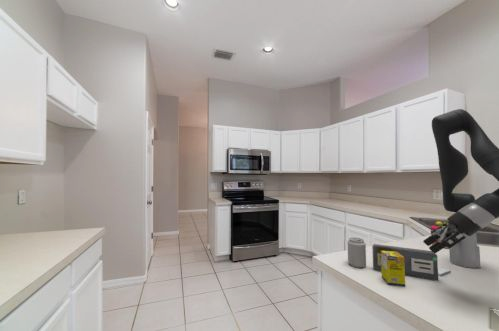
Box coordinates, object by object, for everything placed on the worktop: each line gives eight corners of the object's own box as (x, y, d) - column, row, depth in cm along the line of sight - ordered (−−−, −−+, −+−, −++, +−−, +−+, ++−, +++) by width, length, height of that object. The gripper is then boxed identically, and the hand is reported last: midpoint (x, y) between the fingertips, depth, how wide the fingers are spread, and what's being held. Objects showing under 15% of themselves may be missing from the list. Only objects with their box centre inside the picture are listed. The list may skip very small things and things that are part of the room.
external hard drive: (440, 277, 84) (407, 265, 96) (451, 274, 88) (417, 262, 99) (440, 273, 84) (407, 262, 96) (450, 270, 88) (417, 259, 99)
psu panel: (435, 277, 83) (434, 251, 84) (439, 281, 80) (437, 254, 81) (372, 267, 93) (372, 243, 93) (374, 270, 89) (373, 245, 90)
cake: (427, 244, 124) (426, 219, 124) (436, 242, 128) (435, 218, 129) (450, 250, 114) (448, 223, 115) (458, 247, 118) (457, 221, 119)
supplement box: (405, 286, 76) (404, 257, 77) (388, 285, 78) (387, 255, 78) (397, 279, 82) (396, 251, 83) (381, 277, 83) (380, 250, 84)
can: (365, 270, 90) (365, 242, 90) (347, 266, 94) (346, 239, 94) (366, 264, 96) (365, 238, 97) (348, 260, 100) (348, 235, 101)
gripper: (451, 207, 78) (414, 234, 83) (468, 213, 65) (423, 244, 70) (472, 223, 75) (432, 249, 80) (493, 233, 62) (444, 263, 68)
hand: (428, 247), depth 75 cm, fingers open, 8 cm apart
